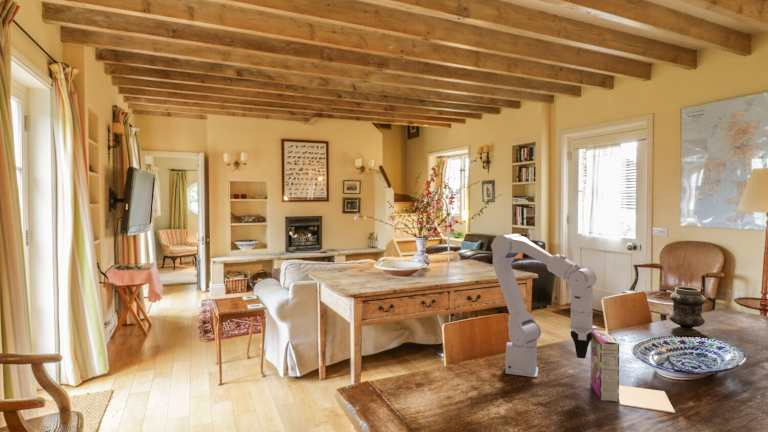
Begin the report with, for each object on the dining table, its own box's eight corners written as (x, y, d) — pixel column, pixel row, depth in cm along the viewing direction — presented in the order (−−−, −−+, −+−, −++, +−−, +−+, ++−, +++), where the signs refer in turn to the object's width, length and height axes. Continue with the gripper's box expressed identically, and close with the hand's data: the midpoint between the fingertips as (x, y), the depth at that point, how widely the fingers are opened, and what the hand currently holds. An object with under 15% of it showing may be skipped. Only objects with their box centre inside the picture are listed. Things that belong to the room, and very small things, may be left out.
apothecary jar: (712, 336, 174) (713, 291, 173) (681, 337, 174) (682, 291, 173) (691, 327, 186) (692, 285, 185) (662, 327, 186) (663, 285, 185)
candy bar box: (589, 384, 132) (589, 329, 131) (607, 385, 131) (608, 330, 130) (599, 401, 121) (600, 341, 120) (619, 402, 120) (620, 342, 119)
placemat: (620, 405, 118) (620, 404, 118) (614, 385, 130) (614, 384, 130) (675, 413, 114) (675, 412, 114) (664, 392, 126) (664, 391, 126)
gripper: (598, 318, 118) (598, 368, 119) (595, 305, 132) (594, 350, 133) (570, 316, 121) (569, 365, 122) (569, 303, 135) (569, 348, 135)
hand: (581, 357), depth 127 cm, fingers closed
